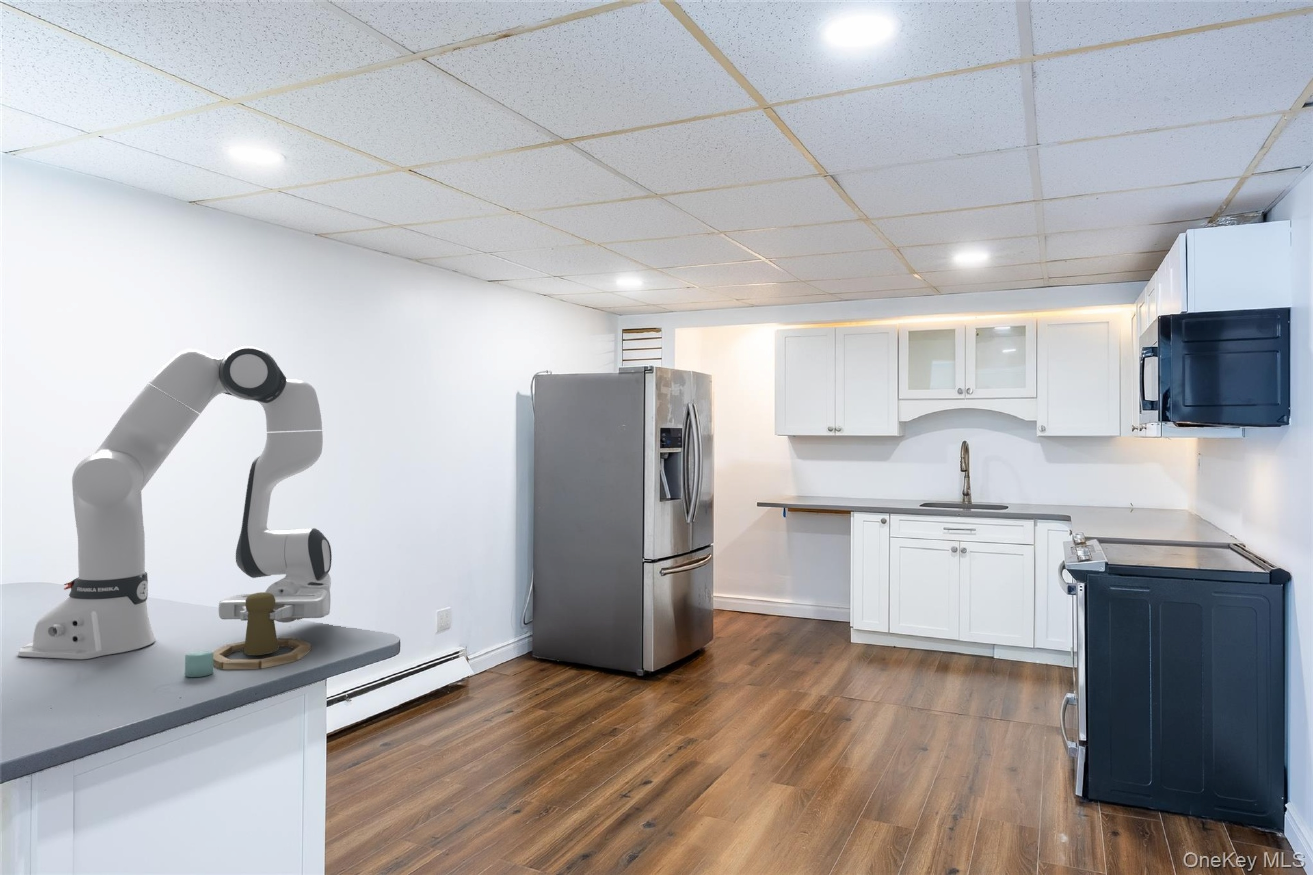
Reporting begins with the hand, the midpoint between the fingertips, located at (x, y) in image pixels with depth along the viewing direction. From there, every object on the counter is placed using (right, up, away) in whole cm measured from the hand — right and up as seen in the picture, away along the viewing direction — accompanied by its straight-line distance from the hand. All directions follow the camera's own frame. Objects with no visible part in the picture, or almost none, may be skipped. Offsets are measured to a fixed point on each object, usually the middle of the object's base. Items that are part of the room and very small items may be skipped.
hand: (258, 616), depth 156 cm
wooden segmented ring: (0, -8, +1) cm, 8 cm away
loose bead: (-6, -8, -10) cm, 14 cm away
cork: (0, -7, +1) cm, 7 cm away
